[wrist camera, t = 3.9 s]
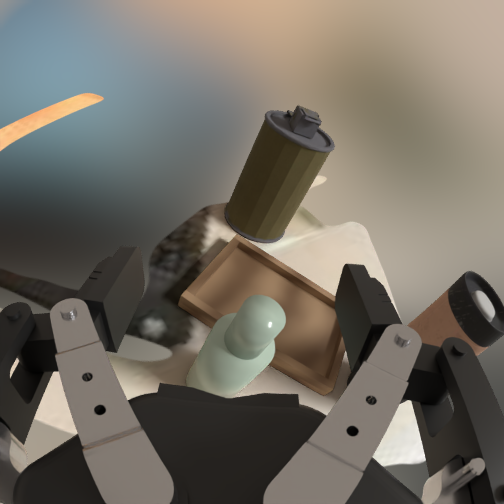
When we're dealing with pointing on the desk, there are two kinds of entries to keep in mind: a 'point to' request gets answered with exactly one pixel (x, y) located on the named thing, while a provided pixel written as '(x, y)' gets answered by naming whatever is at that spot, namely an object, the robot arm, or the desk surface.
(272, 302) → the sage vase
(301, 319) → the walnut tray
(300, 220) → the desk surface
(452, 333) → the travel mug
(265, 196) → the canister
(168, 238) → the desk surface
